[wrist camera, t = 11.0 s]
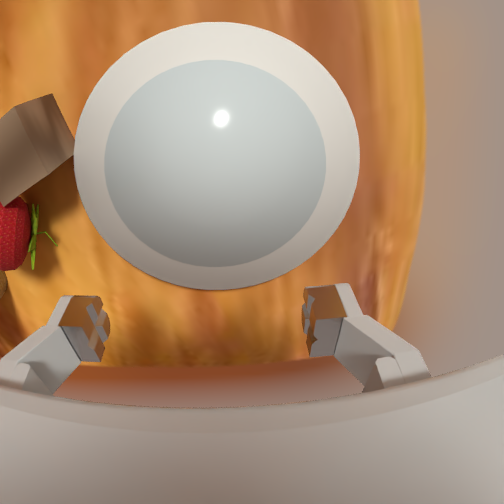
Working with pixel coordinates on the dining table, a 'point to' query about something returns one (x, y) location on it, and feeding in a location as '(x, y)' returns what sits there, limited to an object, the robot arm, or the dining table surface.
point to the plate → (216, 156)
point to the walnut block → (31, 145)
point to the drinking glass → (3, 283)
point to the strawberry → (17, 234)
